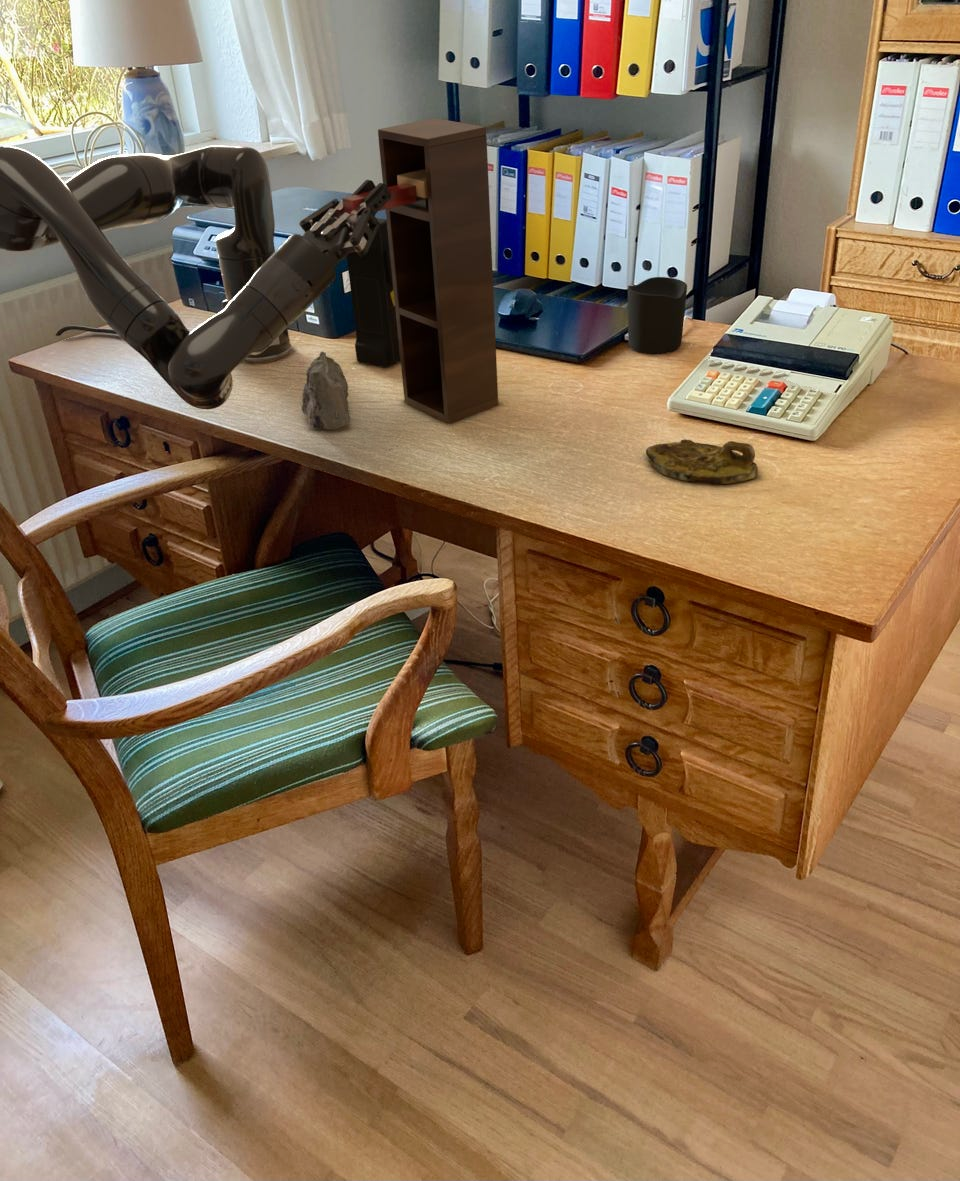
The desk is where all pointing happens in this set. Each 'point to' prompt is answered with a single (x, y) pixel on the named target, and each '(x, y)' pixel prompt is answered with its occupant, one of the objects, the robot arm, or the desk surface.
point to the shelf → (443, 268)
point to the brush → (398, 193)
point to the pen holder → (656, 315)
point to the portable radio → (374, 302)
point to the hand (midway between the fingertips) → (379, 187)
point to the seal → (704, 461)
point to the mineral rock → (325, 394)
